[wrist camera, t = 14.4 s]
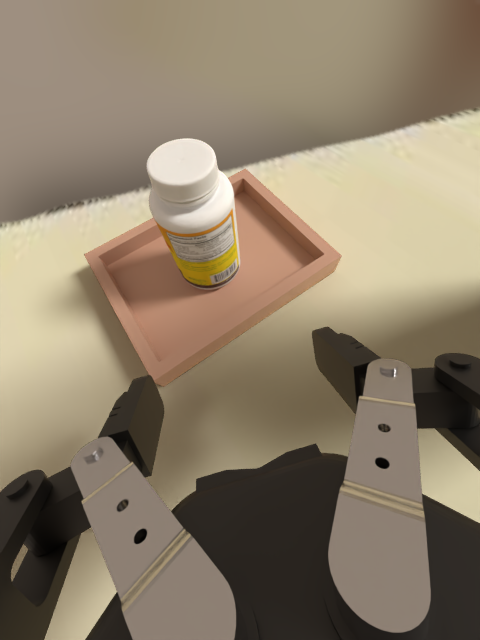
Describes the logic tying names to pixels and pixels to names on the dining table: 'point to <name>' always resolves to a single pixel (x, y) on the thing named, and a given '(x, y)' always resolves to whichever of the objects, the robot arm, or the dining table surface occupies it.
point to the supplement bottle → (195, 212)
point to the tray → (217, 304)
